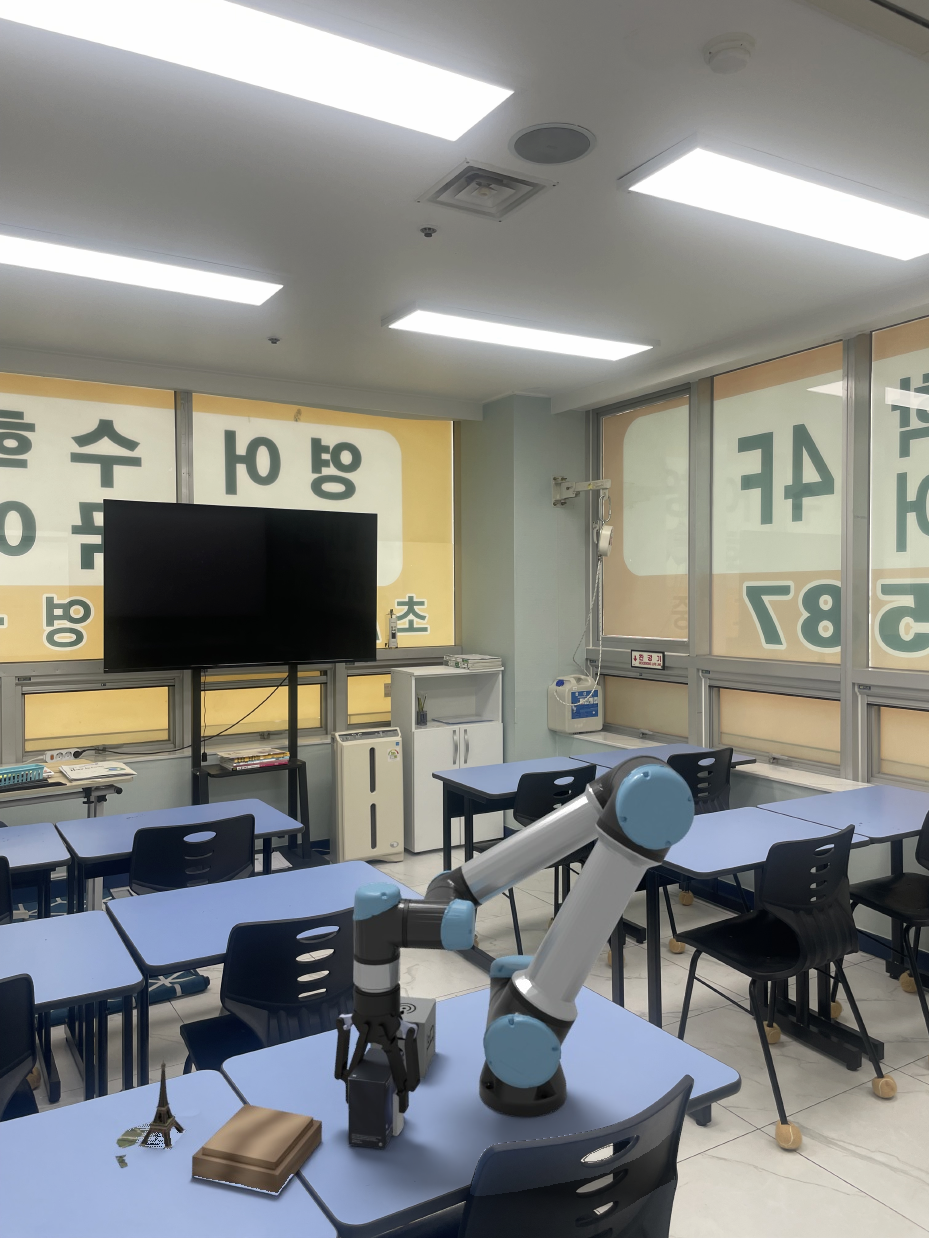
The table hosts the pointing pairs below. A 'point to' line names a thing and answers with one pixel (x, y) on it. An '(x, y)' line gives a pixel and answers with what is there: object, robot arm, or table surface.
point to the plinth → (258, 1148)
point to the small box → (371, 1101)
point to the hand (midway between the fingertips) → (377, 1126)
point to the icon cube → (426, 1037)
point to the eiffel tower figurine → (152, 1124)
